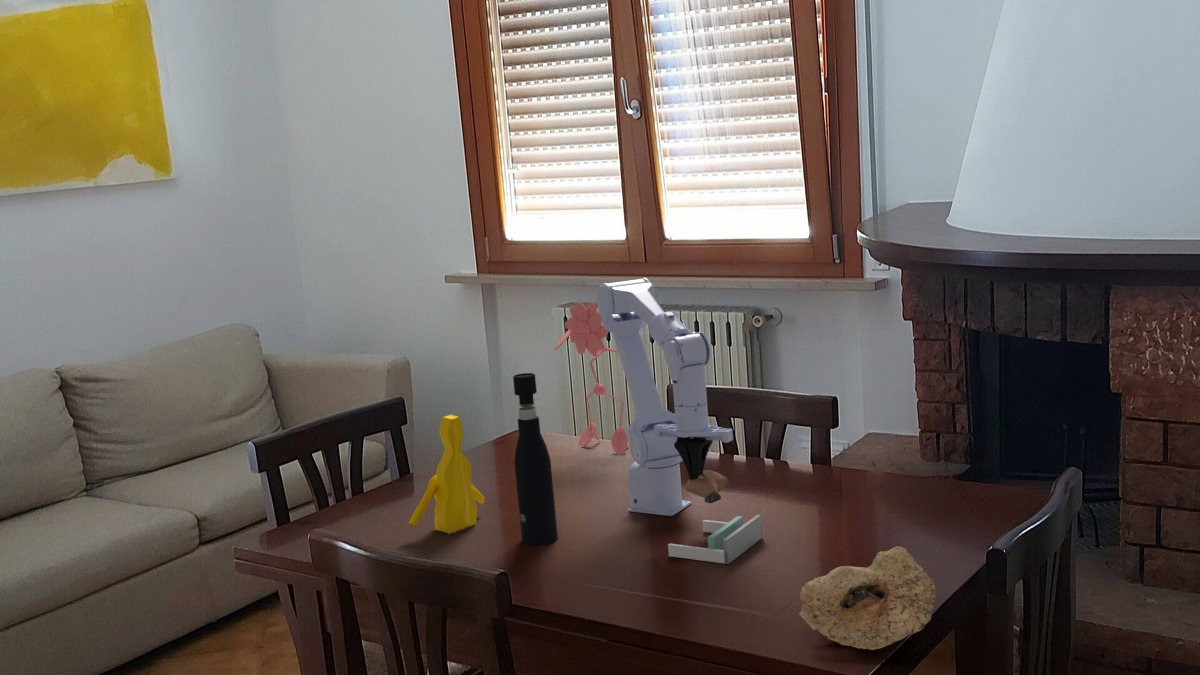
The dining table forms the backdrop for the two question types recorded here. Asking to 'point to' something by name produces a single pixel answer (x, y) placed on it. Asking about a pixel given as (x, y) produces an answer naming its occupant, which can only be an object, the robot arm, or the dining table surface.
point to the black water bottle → (533, 470)
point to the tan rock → (870, 601)
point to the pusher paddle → (724, 533)
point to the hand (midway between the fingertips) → (696, 478)
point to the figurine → (588, 335)
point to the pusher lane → (731, 544)
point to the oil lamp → (707, 485)
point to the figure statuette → (451, 484)
